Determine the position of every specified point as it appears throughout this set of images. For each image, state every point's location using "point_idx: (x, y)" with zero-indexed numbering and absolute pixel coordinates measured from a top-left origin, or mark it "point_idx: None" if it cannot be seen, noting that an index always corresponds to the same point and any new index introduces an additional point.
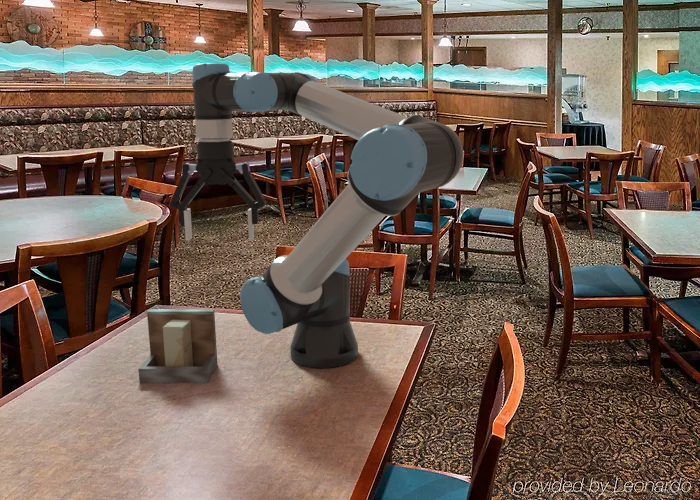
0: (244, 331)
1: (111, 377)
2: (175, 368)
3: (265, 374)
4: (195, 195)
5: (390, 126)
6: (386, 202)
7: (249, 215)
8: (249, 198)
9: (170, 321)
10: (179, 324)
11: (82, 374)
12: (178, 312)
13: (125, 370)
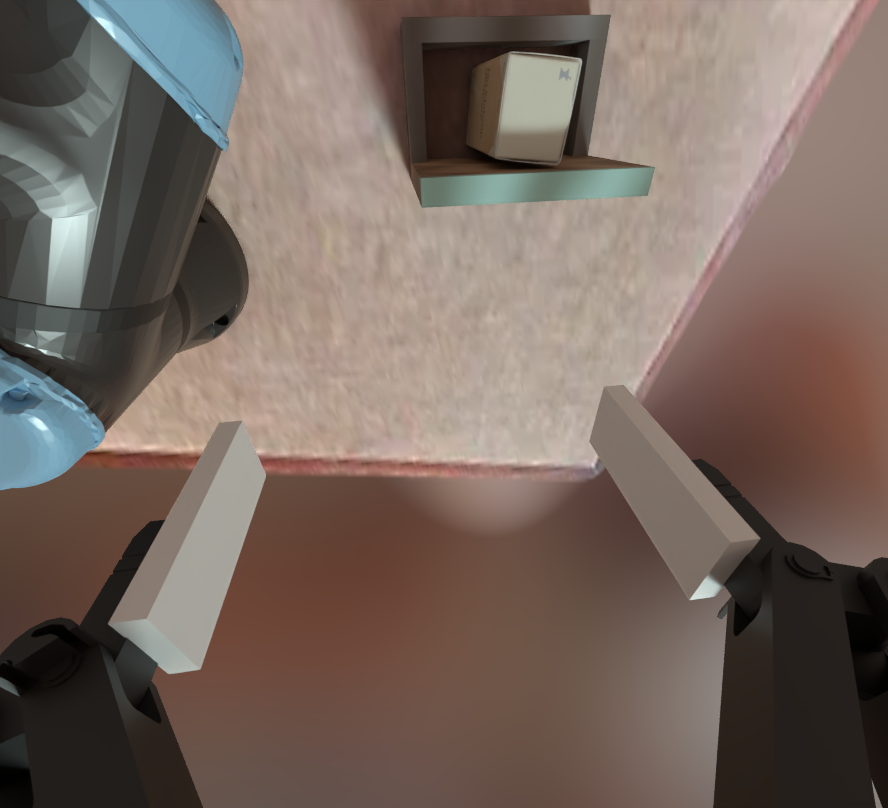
0: (406, 383)
1: (667, 68)
2: (500, 20)
3: (255, 107)
4: (720, 741)
5: None
6: None
7: (154, 571)
8: (36, 797)
9: (561, 135)
10: (524, 91)
11: (738, 90)
12: (544, 172)
13: (634, 125)
